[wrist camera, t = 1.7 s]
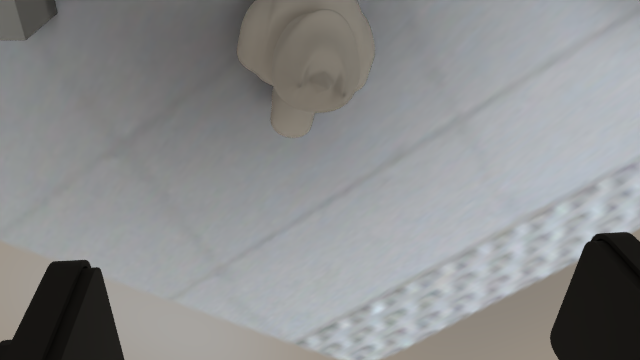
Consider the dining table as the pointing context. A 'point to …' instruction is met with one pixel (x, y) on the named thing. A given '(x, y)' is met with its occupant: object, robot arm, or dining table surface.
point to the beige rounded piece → (306, 56)
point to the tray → (24, 17)
